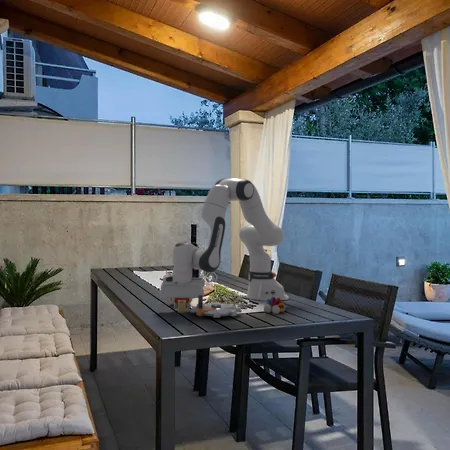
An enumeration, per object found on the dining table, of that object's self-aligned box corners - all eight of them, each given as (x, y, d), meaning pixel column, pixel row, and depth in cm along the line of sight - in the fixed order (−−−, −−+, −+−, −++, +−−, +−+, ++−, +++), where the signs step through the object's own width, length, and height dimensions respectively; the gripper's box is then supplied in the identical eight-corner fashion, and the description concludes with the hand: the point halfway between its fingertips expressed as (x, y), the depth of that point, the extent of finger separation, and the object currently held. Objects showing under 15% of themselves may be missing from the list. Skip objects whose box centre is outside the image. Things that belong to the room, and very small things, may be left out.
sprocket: (209, 304, 227) (209, 290, 227) (249, 310, 216) (249, 295, 215) (181, 312, 209) (181, 296, 208) (223, 319, 197) (224, 303, 197)
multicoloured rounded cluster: (279, 315, 215) (280, 299, 214) (260, 312, 220) (261, 297, 219) (287, 312, 222) (288, 296, 222) (269, 309, 227) (269, 294, 227)
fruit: (182, 301, 241) (183, 286, 241) (196, 305, 233) (196, 288, 233) (165, 304, 233) (166, 288, 233) (179, 307, 226) (179, 291, 226)
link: (185, 309, 223) (185, 299, 222) (185, 312, 217) (185, 302, 217) (177, 309, 222) (177, 299, 222) (177, 312, 216) (178, 302, 216)
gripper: (204, 276, 223) (204, 305, 224) (160, 276, 221) (159, 305, 222) (205, 278, 217) (204, 308, 217) (159, 278, 215) (159, 308, 215)
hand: (181, 307), depth 219 cm, fingers open, 4 cm apart
